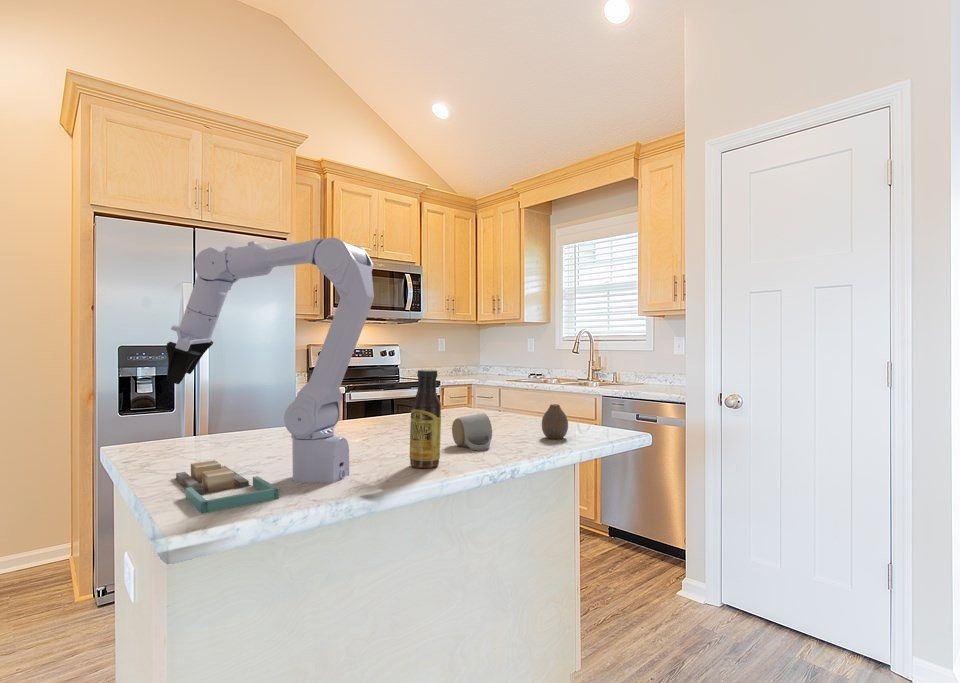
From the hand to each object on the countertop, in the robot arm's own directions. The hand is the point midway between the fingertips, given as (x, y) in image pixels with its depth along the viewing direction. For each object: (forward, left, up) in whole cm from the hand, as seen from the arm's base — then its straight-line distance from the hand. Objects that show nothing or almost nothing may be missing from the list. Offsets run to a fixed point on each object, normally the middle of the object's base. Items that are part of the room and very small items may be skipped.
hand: (179, 377), depth 103 cm
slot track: (-13, +7, -19) cm, 24 cm away
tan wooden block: (-16, +9, -18) cm, 25 cm away
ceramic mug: (-48, -40, -19) cm, 66 cm away
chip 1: (-10, +4, -18) cm, 21 cm away
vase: (-66, -56, -19) cm, 88 cm away
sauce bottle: (-43, -19, -19) cm, 51 cm away
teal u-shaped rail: (-22, +14, -19) cm, 33 cm away
